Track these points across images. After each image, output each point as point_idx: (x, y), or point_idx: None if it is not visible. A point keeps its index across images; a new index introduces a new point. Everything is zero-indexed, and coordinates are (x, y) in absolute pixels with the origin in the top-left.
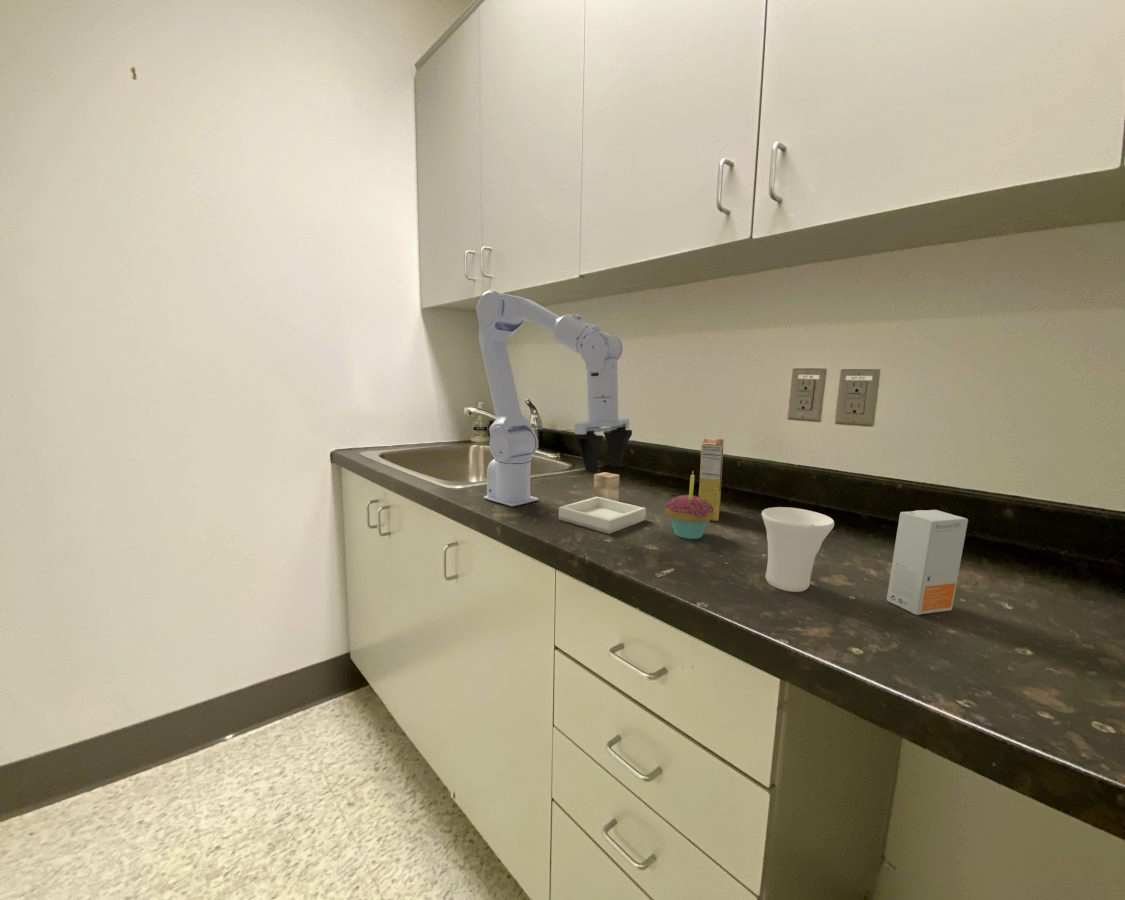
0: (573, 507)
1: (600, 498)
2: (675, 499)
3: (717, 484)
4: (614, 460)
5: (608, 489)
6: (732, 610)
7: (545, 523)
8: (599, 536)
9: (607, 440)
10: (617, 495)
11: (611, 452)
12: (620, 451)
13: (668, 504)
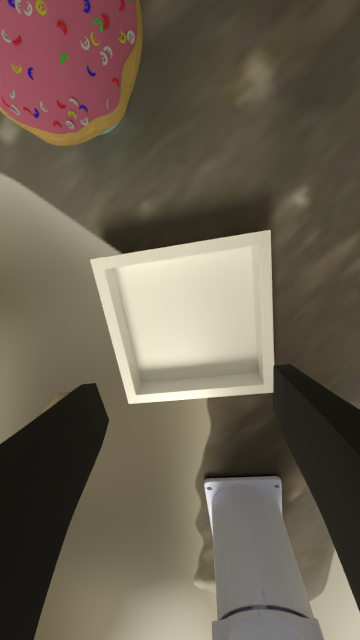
0: (228, 383)
1: (133, 388)
2: (76, 28)
3: None
4: (89, 428)
5: None
6: None
7: (308, 371)
8: (290, 234)
9: (34, 615)
10: (54, 402)
11: (72, 485)
12: (39, 447)
13: (111, 70)
